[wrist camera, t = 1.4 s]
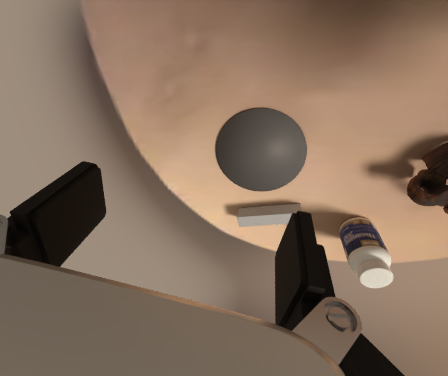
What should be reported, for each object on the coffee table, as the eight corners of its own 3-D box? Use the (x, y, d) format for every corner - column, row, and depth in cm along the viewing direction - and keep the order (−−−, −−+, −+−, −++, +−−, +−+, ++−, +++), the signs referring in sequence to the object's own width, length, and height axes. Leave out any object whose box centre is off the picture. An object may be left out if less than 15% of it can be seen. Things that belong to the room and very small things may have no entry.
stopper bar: (299, 203, 40) (301, 212, 38) (300, 213, 41) (302, 223, 39) (238, 208, 42) (236, 217, 40) (241, 217, 43) (239, 226, 41)
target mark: (305, 101, 32) (306, 101, 31) (307, 187, 38) (307, 188, 38) (208, 115, 35) (207, 115, 35) (224, 193, 41) (224, 193, 41)
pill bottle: (368, 211, 39) (392, 259, 30) (379, 235, 41) (405, 286, 32) (333, 222, 41) (347, 270, 33) (345, 244, 43) (361, 295, 35)
